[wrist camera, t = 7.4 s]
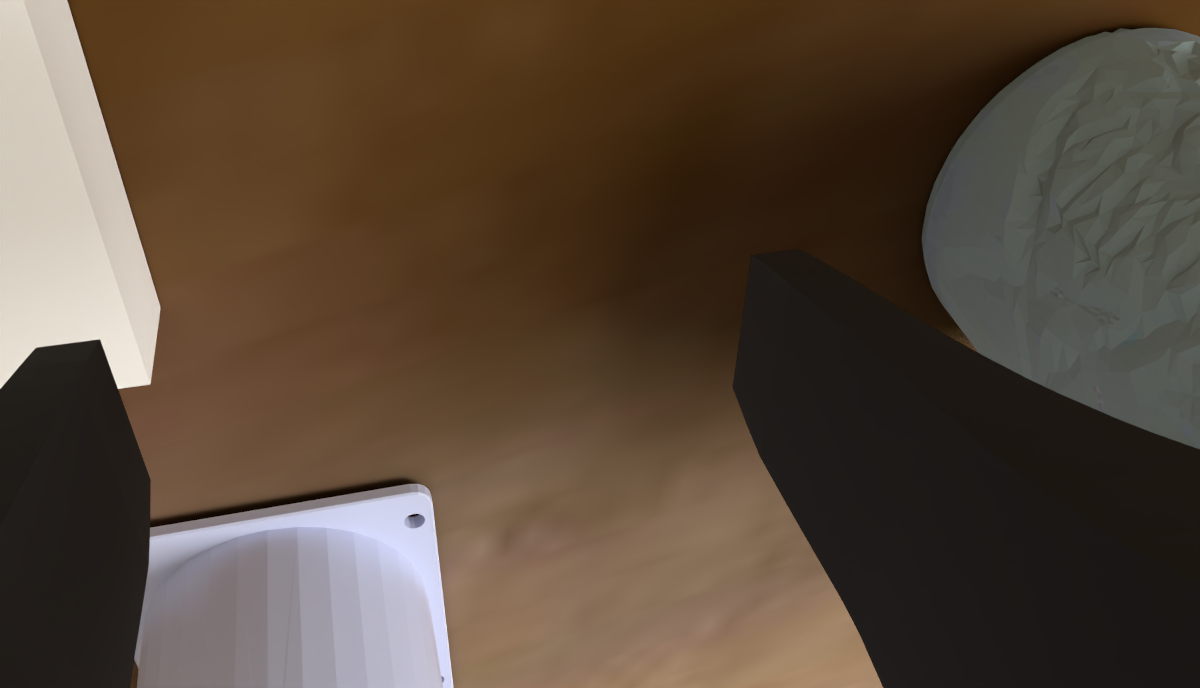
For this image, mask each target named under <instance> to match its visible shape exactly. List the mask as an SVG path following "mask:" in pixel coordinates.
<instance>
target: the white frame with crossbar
mask: <svg viewBox="0 0 1200 688" xmlns="http://www.w3.org/2000/svg"><path fill="white" fill-rule="evenodd" d="M160 309H161V308H160V304H159V301H158V298H157V294H156V291H155V288H154V284H153V281H152V278H151V275H150V271H149V268H148V265H147V261H146V258H145V255H144V252H143V248H142V245H141V242H140V238H139V235H138V232H137V229H136V225H135V222H134V219H133V215H132V212H131V209H130V205H129V202H128V199H127V196H126V192H125V189H124V186H123V182H122V179H121V176H120V173H119V169H118V166H117V163H116V159H115V156H114V153H113V149H112V146H111V143H110V140H109V136H108V133H107V130H106V126H105V123H104V120H103V117H102V113H101V110H100V107H99V103H98V100H97V97H96V94H95V90H94V87H93V84H92V80H91V77H90V74H89V70H88V67H87V64H86V61H85V57H84V54H83V51H82V47H81V44H80V41H79V38H78V34H77V31H76V28H75V24H74V21H73V18H72V14H71V11H70V8H69V5H68V1H67V0H0V389H1V388H2V386H3V385H4V384H5V383H6V382H7V381H8V379H9V378H10V377H11V376H12V375H13V373H14V372H15V371H16V370H17V369H18V368H19V366H20V365H21V364H22V363H23V362H24V361H25V359H26V358H27V357H28V356H29V355H30V354H31V353H32V352H33V350H34V349H35V348H37V347H44V346H52V345H60V344H68V343H75V342H83V341H91V340H99V339H100V341H101V343H102V346H103V349H104V352H105V354H106V357H107V360H108V363H109V366H110V368H111V371H112V374H113V377H114V380H115V382H116V385H117V388H118V389H120V388H128V387H135V386H142V385H149V384H150V383H151V376H152V368H153V361H154V353H155V346H156V339H157V331H158V324H159V316H160Z"/></svg>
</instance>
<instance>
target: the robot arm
mask: <svg viewBox="0 0 1200 688" xmlns="http://www.w3.org/2000/svg"><path fill="white" fill-rule="evenodd" d="M733 389H734V392H735V394H736V397H737V400H738V402H739V405H740V408H741V410H742V413H743V416H744V418H745V421H746V424H747V426H748V428H749V431H750V433H751V436H752V438H753V441H754V443H755V445H756V448H757V450H758V453H759V455H760V457H761V459H762V461H763V463H764V464H765V466H766V468H767V470H768V472H769V473H770V475H771V477H772V479H773V481H774V482H775V484H776V486H777V488H778V489H779V491H780V493H781V495H782V497H783V498H784V500H785V502H786V504H787V505H788V507H789V509H790V511H791V512H792V514H793V516H794V518H795V519H796V521H797V523H798V525H799V526H800V528H801V530H802V531H803V533H804V535H805V537H806V538H807V540H808V542H809V544H810V545H811V547H812V549H813V551H814V552H815V554H816V556H817V558H818V559H819V561H820V563H821V564H822V566H823V568H824V570H825V571H826V573H827V575H828V577H829V578H830V580H831V582H832V584H833V585H834V587H835V589H836V590H837V592H838V594H839V596H840V597H841V599H842V601H843V603H844V605H845V607H846V609H847V611H848V612H849V614H850V616H851V618H852V620H853V622H854V624H855V626H856V628H857V630H858V632H859V634H860V636H861V638H862V640H863V643H864V645H865V647H866V649H867V652H868V654H869V656H870V658H871V661H872V663H873V665H874V668H875V670H876V672H877V674H878V677H879V679H880V681H881V683H882V686H883V688H1200V449H1197V448H1195V447H1192V446H1189V445H1186V444H1183V443H1181V442H1178V441H1175V440H1172V439H1169V438H1167V437H1164V436H1161V435H1158V434H1155V433H1152V432H1150V431H1147V430H1145V429H1142V428H1140V427H1137V426H1135V425H1132V424H1129V423H1127V422H1124V421H1122V420H1119V419H1117V418H1114V417H1112V416H1110V415H1107V414H1105V413H1103V412H1101V411H1098V410H1096V409H1094V408H1091V407H1089V406H1087V405H1084V404H1082V403H1080V402H1078V401H1075V400H1073V399H1071V398H1068V397H1066V396H1064V395H1061V394H1059V393H1057V392H1055V391H1053V390H1051V389H1048V388H1046V387H1044V386H1042V385H1040V384H1038V383H1036V382H1034V381H1032V380H1030V379H1028V378H1026V377H1024V376H1022V375H1020V374H1018V373H1016V372H1014V371H1012V370H1010V369H1008V368H1006V367H1004V366H1002V365H1001V364H999V363H997V362H995V361H993V360H991V359H989V358H987V357H985V356H983V355H981V354H979V353H977V352H976V351H974V350H972V349H970V348H968V347H967V346H965V345H963V344H961V343H959V342H958V341H956V340H954V339H952V338H950V337H949V336H947V335H945V334H943V333H942V332H940V331H938V330H936V329H935V328H933V327H931V326H930V325H928V324H926V323H924V322H923V321H921V320H919V319H918V318H916V317H914V316H913V315H911V314H909V313H908V312H906V311H904V310H903V309H901V308H899V307H898V306H896V305H894V304H892V303H891V302H889V301H888V300H886V299H884V298H883V297H881V296H879V295H878V294H876V293H874V292H873V291H871V290H869V289H868V288H866V287H864V286H863V285H861V284H859V283H858V282H856V281H854V280H853V279H851V278H850V277H848V276H846V275H844V274H843V273H841V272H839V271H838V270H836V269H834V268H833V267H831V266H829V265H827V264H826V263H824V262H822V261H820V260H819V259H817V258H815V257H813V256H811V255H809V254H807V253H805V252H803V251H801V250H799V249H796V250H789V251H781V252H773V253H765V254H758V255H751V261H750V268H749V275H748V282H747V289H746V296H745V303H744V311H743V318H742V325H741V332H740V339H739V346H738V353H737V360H736V368H735V375H734V382H733ZM412 514H419V515H418V516H415V517H408V516H409V515H412ZM134 660H135V662H136V664H137V667H138V669H139V671H138V680H137V688H453V679H452V671H451V662H450V653H449V644H448V635H447V627H446V618H445V609H444V600H443V591H442V583H441V574H440V565H439V556H438V547H437V539H436V530H435V521H434V512H433V503H432V498H431V493H430V491H429V489H428V488H426V487H425V486H424V485H420V484H406V485H400V486H394V487H388V488H382V489H376V490H370V491H364V492H358V493H353V494H347V495H341V496H335V497H329V498H323V499H317V500H311V501H305V502H299V503H293V504H288V505H282V506H276V507H270V508H264V509H258V510H252V511H246V512H240V513H234V514H229V515H223V516H217V517H211V518H205V519H199V520H193V521H187V522H181V523H175V524H169V525H164V526H158V527H152V528H150V477H149V474H148V472H147V469H146V466H145V463H144V461H143V458H142V455H141V452H140V449H139V447H138V444H137V441H136V438H135V435H134V433H133V430H132V427H131V424H130V421H129V419H128V416H127V413H126V410H125V408H124V405H123V402H122V399H121V396H120V394H119V391H118V388H117V385H116V382H115V380H114V377H113V374H112V371H111V368H110V366H109V363H108V360H107V357H106V354H105V352H104V349H103V346H102V343H101V341H100V339H99V340H91V341H83V342H75V343H68V344H60V345H52V346H44V347H37V348H35V349H34V350H33V352H32V353H31V354H30V355H29V356H28V357H27V358H26V359H25V361H24V362H23V363H22V364H21V365H20V366H19V368H18V369H17V370H16V371H15V372H14V373H13V375H12V376H11V377H10V378H9V379H8V381H7V382H6V383H5V384H4V385H3V386H2V388H1V389H0V688H129V687H130V681H131V675H132V669H133V663H134Z"/></svg>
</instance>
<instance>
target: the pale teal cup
mask: <svg viewBox="0 0 1200 688" xmlns="http://www.w3.org/2000/svg"><path fill="white" fill-rule="evenodd" d="M922 246H923V255H924V262H925V266H926V270H927V274H928V277H929V280H930V283H931V286H932V289H933V291H934V292H935V294H936V295H937V297H938V299H939V300H940V302H941V304H942V305H943V306H944V308H945V309H946V310H947V312H948V313H949V314H950V316H951V317H952V318H953V320H954V321H955V322H956V324H957V325H958V326H959V328H960V329H961V330H962V332H963V333H964V334H965V335H966V337H967V338H968V339H969V341H970V342H971V343H972V345H973V346H974V347H975V349H976V350H977V351H978V353H979V354H981V355H983V356H985V357H987V358H989V359H991V360H993V361H995V362H997V363H999V364H1001V365H1002V366H1004V367H1006V368H1008V369H1010V370H1012V371H1014V372H1016V373H1018V374H1020V375H1022V376H1024V377H1026V378H1028V379H1030V380H1032V381H1034V382H1036V383H1038V384H1040V385H1042V386H1044V387H1046V388H1048V389H1051V390H1053V391H1055V392H1057V393H1059V394H1061V395H1064V396H1066V397H1068V398H1071V399H1073V400H1075V401H1078V402H1080V403H1082V404H1084V405H1087V406H1089V407H1091V408H1094V409H1096V410H1098V411H1101V412H1103V413H1105V414H1107V415H1110V416H1112V417H1114V418H1117V419H1119V420H1122V421H1124V422H1127V423H1129V424H1132V425H1135V426H1137V427H1140V428H1142V429H1145V430H1147V431H1150V432H1152V433H1155V434H1158V435H1161V436H1164V437H1167V438H1169V439H1172V440H1175V441H1178V442H1181V443H1183V444H1186V445H1189V446H1192V447H1195V448H1197V449H1200V37H1198V36H1196V35H1192V34H1189V33H1186V32H1183V31H1179V30H1176V29H1164V28H1139V29H1134V30H1131V29H1122V28H1120V29H1118V30H1116V31H1115V32H1113V33H1110V32H1102V33H1100V34H1097V35H1094V36H1089V37H1085V38H1083V39H1081V40H1078V41H1076V42H1074V43H1071V44H1069V45H1067V46H1065V47H1062V48H1060V49H1059V50H1057V51H1055V52H1054V53H1052V54H1050V55H1049V56H1047V57H1045V58H1044V59H1042V60H1040V61H1039V62H1037V63H1036V64H1035V65H1033V66H1032V67H1031V68H1029V69H1028V70H1026V71H1025V72H1024V73H1022V74H1021V75H1020V76H1018V77H1017V78H1016V79H1015V80H1013V81H1012V82H1011V83H1010V84H1009V85H1007V86H1006V87H1005V88H1004V89H1002V90H1001V91H1000V92H999V93H998V94H997V95H996V96H995V97H994V98H993V99H992V100H991V101H990V102H989V103H988V104H987V105H986V106H985V107H984V108H983V109H982V110H981V111H980V112H979V113H978V115H977V116H976V117H975V118H974V120H973V121H972V122H971V123H970V125H969V126H968V127H967V128H966V130H965V131H964V132H963V134H962V135H961V136H960V138H959V139H958V141H957V142H956V144H955V145H954V147H953V149H952V150H951V152H950V153H949V155H948V157H947V159H946V161H945V163H944V165H943V167H942V169H941V171H940V173H939V175H938V177H937V179H936V181H935V183H934V186H933V189H932V192H931V195H930V198H929V201H928V203H927V208H926V213H925V219H924V224H923V231H922Z"/></svg>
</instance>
